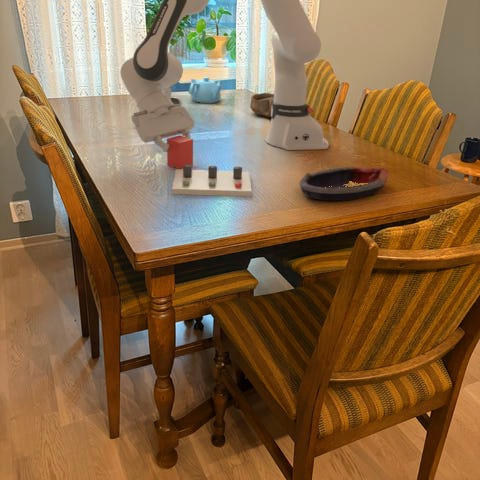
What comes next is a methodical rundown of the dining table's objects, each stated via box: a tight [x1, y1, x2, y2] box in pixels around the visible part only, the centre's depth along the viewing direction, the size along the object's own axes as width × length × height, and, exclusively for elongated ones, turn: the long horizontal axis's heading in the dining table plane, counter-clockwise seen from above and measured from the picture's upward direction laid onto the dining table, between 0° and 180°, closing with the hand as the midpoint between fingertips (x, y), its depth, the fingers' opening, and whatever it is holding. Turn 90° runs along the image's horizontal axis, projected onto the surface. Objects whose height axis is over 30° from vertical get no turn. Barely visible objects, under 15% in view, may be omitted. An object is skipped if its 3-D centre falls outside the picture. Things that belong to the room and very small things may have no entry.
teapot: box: [188, 76, 223, 104], centre depth 229 cm, size 15×15×11 cm
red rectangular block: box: [166, 135, 194, 170], centre depth 147 cm, size 6×6×8 cm
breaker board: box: [171, 165, 253, 197], centre depth 134 cm, size 21×15×4 cm
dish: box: [299, 166, 389, 202], centre depth 135 cm, size 16×31×5 cm, turn 119°
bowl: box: [249, 92, 274, 118], centre depth 209 cm, size 18×14×10 cm
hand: (179, 147), depth 147 cm, fingers open, 8 cm apart
